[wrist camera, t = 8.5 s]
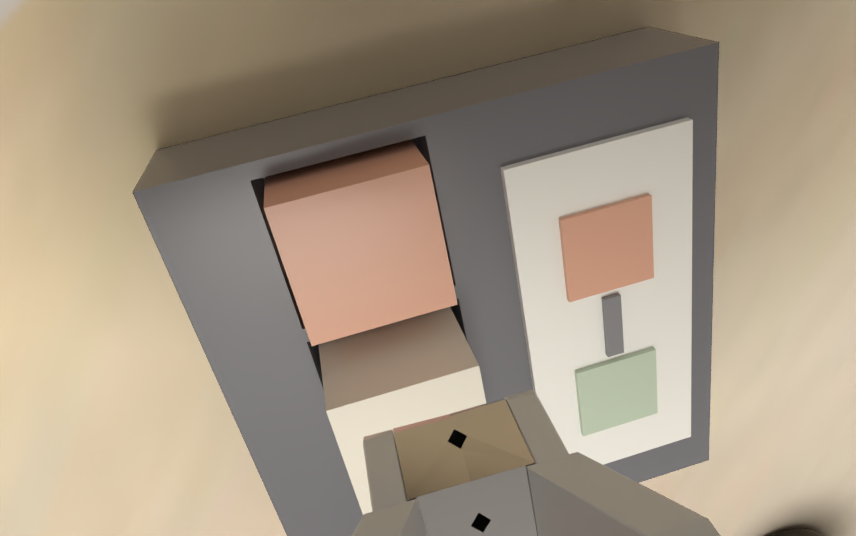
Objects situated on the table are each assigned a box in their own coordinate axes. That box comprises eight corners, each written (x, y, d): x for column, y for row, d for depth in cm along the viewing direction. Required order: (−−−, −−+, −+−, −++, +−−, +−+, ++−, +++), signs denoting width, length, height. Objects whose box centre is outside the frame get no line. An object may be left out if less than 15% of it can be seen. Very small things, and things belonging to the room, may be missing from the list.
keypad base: (648, 27, 22) (729, 44, 18) (658, 400, 30) (715, 468, 26) (156, 150, 20) (128, 198, 17) (306, 510, 29) (311, 600, 25)
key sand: (445, 297, 21) (479, 365, 18) (466, 397, 24) (500, 476, 20) (317, 333, 21) (326, 411, 18) (350, 432, 23) (364, 519, 20)
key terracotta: (402, 127, 20) (429, 164, 17) (428, 248, 22) (457, 304, 19) (265, 161, 20) (263, 208, 16) (305, 282, 22) (311, 346, 18)
